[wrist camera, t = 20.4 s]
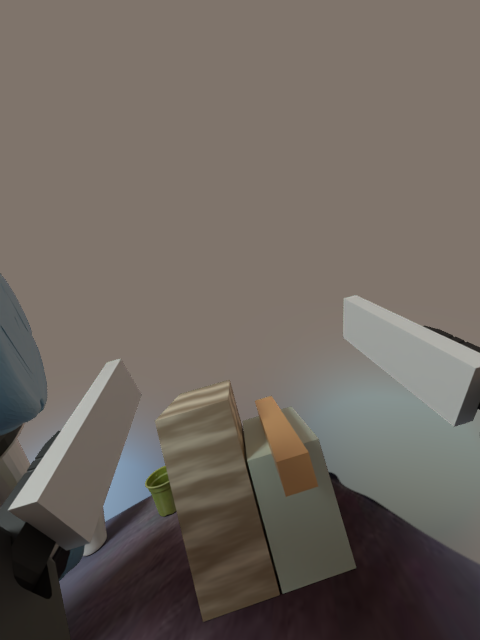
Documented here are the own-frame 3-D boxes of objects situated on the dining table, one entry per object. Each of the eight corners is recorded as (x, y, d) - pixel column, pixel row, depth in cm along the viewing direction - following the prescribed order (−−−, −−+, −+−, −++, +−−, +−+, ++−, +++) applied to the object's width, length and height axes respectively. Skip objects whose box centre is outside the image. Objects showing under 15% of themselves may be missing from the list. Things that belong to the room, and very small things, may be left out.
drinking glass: (97, 532, 55) (85, 474, 56) (117, 532, 53) (104, 472, 54) (70, 560, 48) (56, 494, 49) (91, 562, 47) (76, 493, 48)
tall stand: (280, 594, 32) (228, 399, 34) (203, 621, 31) (154, 420, 33) (264, 509, 48) (229, 379, 50) (213, 525, 47) (180, 394, 49)
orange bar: (318, 486, 25) (308, 452, 25) (286, 496, 24) (276, 462, 25) (276, 413, 49) (271, 395, 49) (259, 418, 48) (254, 400, 49)
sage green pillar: (356, 568, 33) (318, 438, 34) (282, 594, 32) (247, 461, 33) (315, 492, 49) (291, 406, 50) (266, 508, 48) (242, 421, 49)
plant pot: (175, 489, 63) (168, 460, 64) (195, 497, 58) (187, 465, 58) (146, 516, 56) (138, 483, 56) (165, 528, 50) (157, 491, 51)
